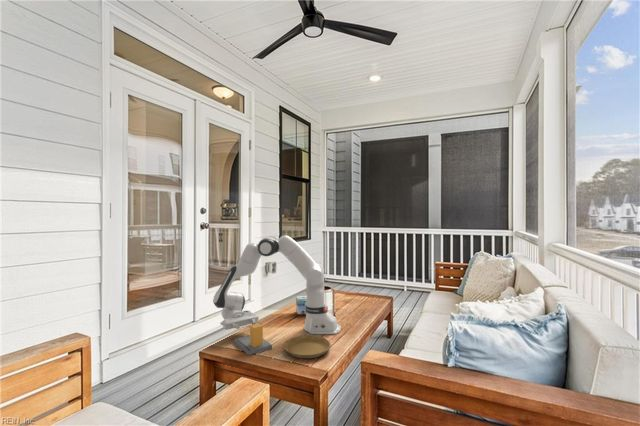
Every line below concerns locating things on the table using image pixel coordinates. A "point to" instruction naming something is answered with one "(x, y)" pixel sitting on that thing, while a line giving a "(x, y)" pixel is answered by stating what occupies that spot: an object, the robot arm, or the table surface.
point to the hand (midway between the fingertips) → (246, 325)
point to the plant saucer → (307, 346)
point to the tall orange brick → (256, 335)
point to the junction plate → (247, 348)
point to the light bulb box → (300, 304)
